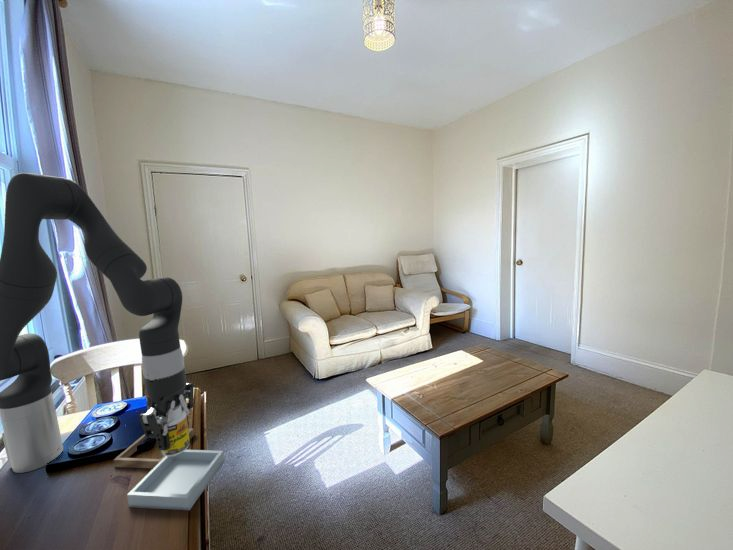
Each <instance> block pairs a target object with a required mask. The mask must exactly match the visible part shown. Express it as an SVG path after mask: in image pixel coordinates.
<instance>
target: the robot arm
mask: <svg viewBox="0 0 733 550" xmlns="http://www.w3.org/2000/svg"><path fill="white" fill-rule="evenodd" d="M4 206H5V207H4V224H3V225H4V227H3V239H2V240H3V241H2V246H1V254H0V382H1V381H4V380H7V379H11V378H14V377H16V378H15V380H14V381H13V382H12V383H10V384H9V385H8V386H7V387H5V388H4V389H3V390H1V391H0V421H1V425H2V426H1V427H2V429H3V433H2V434H1V437H2V441H3V444H4V445H3V446H4V450H5V453H6V457H7V462H8V467H9V468H10V469H12V472H13V473H16V474H23V473H28V472H33V471H35V470H38V469H40V468H43V467H45V466H47V465H48V464H47V463H49V462H50V461H52V460H53V459H55V458H56V457H57V456H58V455H60V453H61V452H62V451H63V450H64V445H63V441H62V435H61V430H60V425H59V420H58V416H57V411H56V406H55V405H56V404H55V402H54V396H53V392H52V382H53V377H52V376H53V375H52V369H51V360H50V352H49V349H48V346H47V344H46V342H45V340H44V339H43V338H42V337H41V336H40V335H38V334H36V333H24V334H21V333H22V331H23V329H24V328H25V327H26V326H27V325H29V323H30V322H31V321H32V320H33V319H35V317H36V316H37V315H38V314H39V313H40V312H41V311H42V310H43V309H44V308H45V307H46V305H48V303H49V302H50V300H51V299H52V296H53V294H54V291H55V287H56V282H57V277H58V271H57V268H56V266H55V263H54V262H53V261H52V259H51V258H50V256H49V255H48V254H47V253H46V251H45V249H43V246H42V245H41V243H40V239H39V236H40V235H39V232H40V226H41V223H42V221H43V220H68V221H71V222H72V223H73V224H75V225H76V226H77V227H78V228H79V229H81V230H82V232H83V234H84V239H83V240H84V250H85V255H86V256H87V258H88V260H89V261H90V262H91V263H92V264H93V265H94V266H95V268H97V270H98V271H100V272H101V273H102V274H103V275H104V276H105V277H106V278H107V279H108V280H109V281H110V283H111V285H112V287H113V289H114V291H115V293H116V294H117V297H118V299H119V301H120V303H121V305H122V306H123V308H124V309H125V310H126V311H128V313H131V314H133V315H135V316H138V317H147V316H150V315H153V316H152V319H151V320H150V321H149V322H148V323H146V324H145V325H142V327H141V328H140V329H139V331H138V337H139V338H138V339H139V344H140V351H141V368H142V374H143V380H144V387H145V391H146V394H147V395H148V396H149V397H150V399H151V406H150V408H151V409H150V410H149V411H148V410H147V411H146V412H145V413H141V414H139V416H138V419H139V423H140V426H141V428H142V430H143V433H144V434H145V436H146V438H151V439H155V440H156V441H155V442H156V446H157V447H156V448H157V449H158V450H159V451H161V450H168V449H169V448H170V441H169V434H168V433H167V432H168V425H169V423H170V422H171V419H172V413H173V409H174V408H175V407H177V406H178V405H179V404H180V405H181V408H182V410H183V411H185V412H186V416H187V424H188V429H189V428H190V427H189V425H190V422H189V414H190V410H191V409H193V408H194V405H195V403H194V401H195V400H194V398H195V397H194V396H195V392H194V389H195V388H194V387H195V386H194V383H193V382H188V381H187V376H186V369H185V368H186V367H185V360H184V354H183V352H182V348H181V342H180V335H179V334H180V333H179V325H180V319H181V313H182V306H183V292H182V289H181V287H180V285H179V283H178V282H177V281H176V280H175V279H173V278H171V277H167V276H163V277H157V278H151V279H146V280H142V278H143V277H144V276H145V275H146V273H147V271H148V269H147V264H146V263H145V261H144V260H143V259H142V257H140V256H139V254H137V253H136V252H135V251H134V250H133V249H132V248H131V247H130V246H129V245H128V244H127V243H125V241H123V240H122V238H121V237H119V236H118V234H117V233H116V232H115V230H114V229H113V228H112V226H111V225H110V224H109V222H108V221H107V219H106V218H105V216H104V215H103V214H102V213H101V211H100V210H99V208H98V207H97V206H96V205H95V202H93V200H92V198H91V197H90V196H89V194H87V192H86V191H85V189H83V188H82V187H81V185H80V184H79V183H77V182H76V181H74V180H73V179H71V178H70V179H69V178H67V177H66V178H65V177H61V176H55V175H47V174H46V175H45V174H38V173H30V172H19V173H16V174H14V175H13V176H12V177H11V178H10V180H9V182H8V185H7V187H6V195H5V205H4ZM187 399H188V402H187ZM159 416H161V417H166V418H165V419H160V417H159ZM160 424H163V426H162V429H159V428H160ZM144 434H143V435H144ZM63 452H64V451H63ZM60 456H61V455H60ZM55 460H56V459H55ZM52 462H53V461H52ZM49 464H50V463H49Z"/></svg>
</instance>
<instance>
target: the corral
mask: <svg viewBox="0 0 733 550" xmlns="http://www.w3.org/2000/svg"><path fill="white" fill-rule="evenodd" d="M188 433H189V440H190V441H191V439H192V438H193V437H194V436H195V430H194V428H190V427H189V429H188ZM145 439H147V438H146V436H145V434H143V435H141V436H140V437H139V438H138V439H136V440H135V441H134V442H133V443H132V444H131V445H130V446H128V447H127V448H126V449H125V450H124V451H122V452H121V453H120V454H118V455H117V456H116V457H115V458H114V459H113V465H114V468H127V469H128V468H131V469H134V468H135V469H151V470H152V469H153V468H154V467H155V466H156V465H157V464H158V463H159V462H160V461H161V460H162V459H163V458H164V457H165V456H164V455H162V456H161V457H160V458H144V457H143V458H142V457H141V458H140V457H138V458H137V457H131V456H132V455H134V454H135V453H136V452H137V451H138V450H137V446H138V445H139V444H140V443H141V442H143V441H144V440H145Z"/></svg>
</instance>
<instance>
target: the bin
mask: <svg viewBox="0 0 733 550" xmlns="http://www.w3.org/2000/svg"><path fill="white" fill-rule="evenodd" d="M224 453H225V452H224V450H211V449H210V450H208V449H205V450H204V449H186V450H185V451H184V452H182V453H180V454H178V455H176V456H171V457H166V456H165V457H164V458H163V459H162V460H161V461H160V462H159V463H158V464H157V465H156V466H155V467H154V468H153V469H152V468H151V469H150V471H149V472H147V474H146V475H145V476H144V477H143V478H142V479H141V480H140V481H139V482H138V483H137V484H136V485H135V486H134V487H133V488H132V489H131V490H130V491H129V492H128V493H127V494H126V497H127V503H128V507H129V508H137V509H139V508H140V509H155V510H156V509H157V510H159V509H160V510H172V511H173V510H174V511H175V510H176V511H177V510H178V511H190V510H191V509H192V508H193V506H194V504H195V503H196V501H197V500H198V499H199V498H200V496H201V495H202V493H203V492H204V491H205V489H206V488H207V486H208V485H209V484H210V483H211V482H212V480H213V479H214V477H215V476H216V474H217V473H218V472H219V470H220V469H221V468H222V465H223V464H224V463H225V454H224Z"/></svg>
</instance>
